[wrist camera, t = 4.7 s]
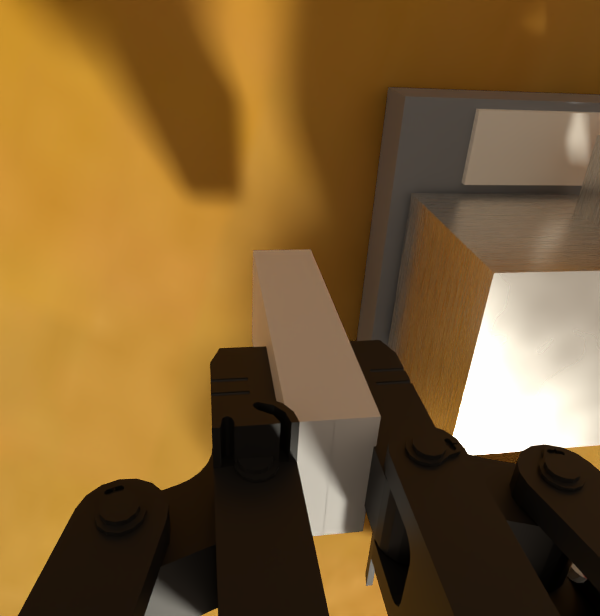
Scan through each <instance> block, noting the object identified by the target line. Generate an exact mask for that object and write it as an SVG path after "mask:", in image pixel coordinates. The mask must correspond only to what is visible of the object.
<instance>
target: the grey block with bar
mask: <svg viewBox="0 0 600 616" xmlns="http://www.w3.org/2000/svg"><path fill="white" fill-rule="evenodd" d="M388 346H389V348H391V349H392V350H393V351H394V352H396V354H397V356H398V358H399V360H400V361H401V363H402V365H403V367H404V371H406V373H407V375H408V376H409V378H410V383H412V384H413V386H414V388H415V390H416V391H417V393H418V395H419V397H420V399H421V401H422V403H423V405H424V406H425V408H426V410H427V412H428V414H429V416H430V418H431V420H432V421H433V423H434V425H435V427H436V428H439V429H442V430H444V431H446V432H448V433H449V434H451V435H452V436H454V437H455V438H457V439H458V440H459V442H460V443H461V444H462V445H463V446H464V448H465V449H466V451H467V452H468V454H470V455H481V454H493V453H506V452H518V451H523V450H525V449H527V448H528V447H530V446H534V445H543V444H546V445H551V446H557V447H562V448H569V447H581V446H594V445H600V135H598V136H597V139H596V142H595V145H594V148H593V152H592V155H591V158H590V161H589V165H588V168H587V171H586V174H585V177H584V181H583V184H582V187H581V190H580V194H579V196H578V195H576V194H435V193H412V195H411V201H410V208H409V214H408V220H407V227H406V233H405V239H404V246H403V252H402V258H401V265H400V271H399V277H398V284H397V290H396V296H395V303H394V309H393V315H392V322H391V328H390V334H389V340H388Z"/></svg>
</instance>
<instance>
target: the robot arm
mask: <svg viewBox="0 0 600 616" xmlns="http://www.w3.org/2000/svg"><path fill="white" fill-rule="evenodd" d="M252 343H253V347H240V348H220V349H219V350H218V352H217V353H216V355H215V356H214V358H213V359H212V361H211V363H210V372H211V405H212V444H213V448H212V455H211V457H210V459H209V461H208V463H207V465H206V466H205V467H204V468H203V469H202V470H201V472H200V473H198V474H197V475H195V476H194V477H193V478H191V479H190V480H188V481H185V482H183V483H181V484H179V485H176V486H173V487H170V488H168V489H165V490H160V489H159V488H158V487H156V486H155V485H154V484H153V483H150V482H147V481H143V480H139V479H120V480H116V481H113V482H110V483H107V484H104V485H101V486H100V487H98V488H97V489H95V490H94V491H92V492H91V493H89V494H88V495H86V496H85V498H84V499H83V500H82V501H81V503H80V504H79V505H78V506H77V508H76V509H75V510H74V512H73V514H72V516H71V518H70V520H69V522H68V523H67V525H66V527H65V529H64V531H63V533H62V535H61V537H60V538H59V540H58V542H57V544H56V546H55V548H54V550H53V551H52V553H51V555H50V557H49V559H48V561H47V563H46V564H45V566H44V568H43V570H42V572H41V574H40V576H39V578H38V579H37V581H36V583H35V585H34V587H33V589H32V591H31V592H30V594H29V596H28V598H27V600H26V602H25V604H24V605H23V607H22V609H21V611H20V613H19V615H18V616H201V615H203V614H205V613H207V612H209V611H211V610H214V609H216V608H218V616H329V613H328V608H327V603H326V598H325V594H324V589H323V584H322V579H321V574H320V570H319V565H318V560H317V555H316V550H315V546H314V541H313V536H319V535H329V534H339V533H349V532H359V531H363V526H364V520H365V514H366V512H367V516H368V519H369V522H370V525H371V528H372V531H373V533H372V539H371V545H370V551H369V556H368V562H367V568H366V586H368V585H372V584H373V578H374V573H376V576H377V580H378V583H379V587H380V590H381V593H382V597H383V600H384V603H385V607H386V610H387V614H388V616H600V471H599V470H598V469H597V468H596V467H594V466H593V465H592V464H591V463H590V462H588V461H587V460H585V459H584V458H582V457H581V456H579V455H578V454H576V453H574V452H571V451H569V450H567V449H564V448H562V447H557V446H551V445H546V444H543V445H534V446H530V447H528V448H527V449H525V450H523V451H522V452H521V454H520V456H519V458H518V460H517V463H516V464H514V463H508V462H503V461H497V460H491V459H485V458H481V457H477V456H473V455H470V454H468V452H467V451H466V449H465V448H464V446H463V445H462V444H461V443H460V442H459V440H458V439H457V438H455V437H454V436H452V435H451V434H449V433H448V432H446V431H444V430H442V429H439V428H436V427H435V425H434V423H433V421H432V420H431V418H430V416H429V414H428V412H427V410H426V408H425V406H424V405H423V403H422V401H421V399H420V397H419V395H418V393H417V391H416V390H415V388H414V386H413V384H412V383H410V378H409V376H408V375H407V373H406V371H404V367H403V365H402V363H401V361H400V360H399V358H398V356H397V354H396V352H394V351H393V350H392V349H391V348H389V347H388V346H387V345H386V344H384V343H383V342H382V341H381V340H365V341H349V339H348V337H347V335H346V332H345V330H344V327H343V325H342V323H341V320H340V318H339V316H338V313H337V311H336V308H335V306H334V304H333V301H332V299H331V297H330V294H329V292H328V289H327V287H326V285H325V282H324V280H323V278H322V275H321V273H320V270H319V268H318V266H317V263H316V261H315V258H314V256H313V254H312V251H311V249H307V250H253V303H252ZM572 564H574V565H575V566H576V567H577V568H578V569H579V570H580V571H581V572H582V574H583V575H584V576H585V577H586V578H587V579H586V578H584V577H582V576H580V575H579V574H578V573H577V572H576V571H575V570H574V569H573V568H572V567H571V566H572Z"/></svg>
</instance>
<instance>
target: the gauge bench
mask: <svg viewBox="0 0 600 616" xmlns="http://www.w3.org/2000/svg"><path fill="white" fill-rule="evenodd" d="M598 135H600V95H595V94H566V93H538V92H510V91H482V90H454V89H426V88H398V87H388V94H387V102H386V110H385V118H384V126H383V134H382V142H381V150H380V158H379V166H378V174H377V182H376V190H375V198H374V206H373V214H372V222H371V230H370V238H369V246H368V254H367V262H366V270H365V278H364V286H363V294H362V302H361V310H360V318H359V326H358V334H357V341H365V340H381V341H382V342H383V343H384V344H386V345H387V346H388V340H389V334H390V328H391V322H392V315H393V309H394V303H395V296H396V290H397V284H398V277H399V271H400V265H401V258H402V252H403V246H404V239H405V233H406V227H407V220H408V214H409V208H410V201H411V195H412V193H435V194H576V195H578V196H579V194H580V190H581V187H582V184H583V181H584V177H585V174H586V171H587V168H588V165H589V161H590V158H591V155H592V152H593V148H594V145H595V142H596V139H597V136H598ZM388 347H389V346H388Z"/></svg>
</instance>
